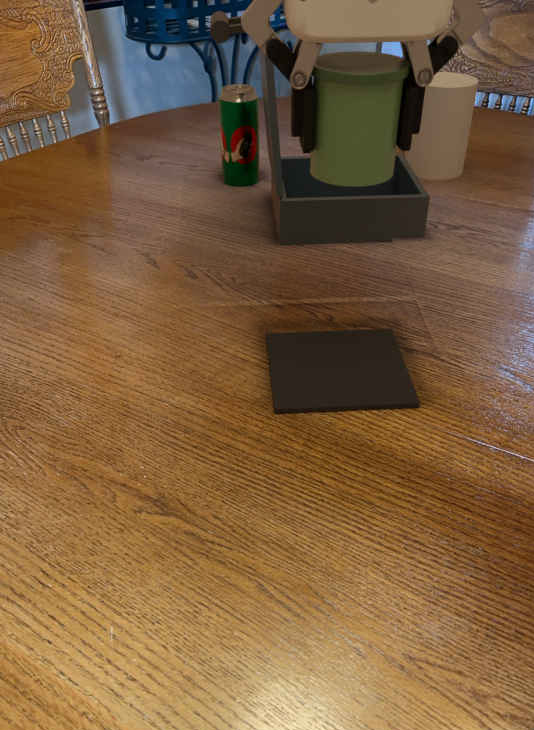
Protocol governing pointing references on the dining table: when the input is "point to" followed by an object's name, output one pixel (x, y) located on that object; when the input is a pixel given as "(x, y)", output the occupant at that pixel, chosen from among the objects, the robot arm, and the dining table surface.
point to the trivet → (338, 371)
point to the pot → (356, 117)
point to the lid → (220, 34)
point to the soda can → (239, 135)
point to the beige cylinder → (443, 127)
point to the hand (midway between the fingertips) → (353, 143)
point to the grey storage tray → (348, 207)
